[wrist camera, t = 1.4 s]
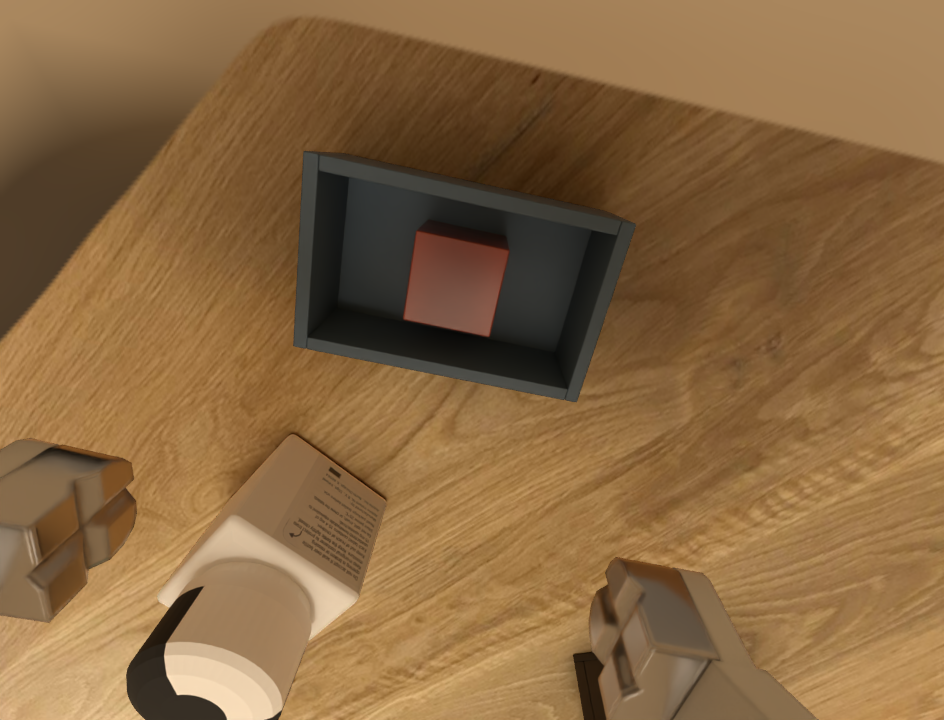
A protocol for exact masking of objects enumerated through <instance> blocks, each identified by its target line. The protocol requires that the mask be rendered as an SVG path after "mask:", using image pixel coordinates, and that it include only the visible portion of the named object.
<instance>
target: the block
mask: <svg viewBox="0 0 944 720" xmlns="http://www.w3.org/2000/svg"><path fill="white" fill-rule="evenodd" d="M509 253H510V250H509V246H508V241H507V237H506V236H504V235H499V234H494V233H490V232H485V231H480V230H476V229H471V228H466V227H462V226H457V225H452V224H448V223H443V222H438V221H434V220H427V221H426V222H425V223H424V224H423V225H422V226H421V227H420V228H419V229H418V230H417V231H416V234H415V241H414V247H413V254H412V260H411V267H410V274H409V280H408V287H407V294H406V300H405V307H404V313H403V319H404V320H407V321H412V322H417V323H422V324H427V325H431V326H436V327H441V328H446V329H451V330H456V331H461V332H466V333H471V334H476V335H481V336H485V337H489V336H490V334H491V330H492V326H493V321H494V317H495V313H496V308H497V304H498V300H499V296H500V291H501V287H502V283H503V279H504V274H505V270H506V266H507V262H508V257H509Z"/></svg>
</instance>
